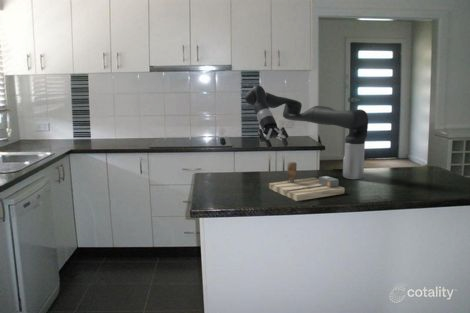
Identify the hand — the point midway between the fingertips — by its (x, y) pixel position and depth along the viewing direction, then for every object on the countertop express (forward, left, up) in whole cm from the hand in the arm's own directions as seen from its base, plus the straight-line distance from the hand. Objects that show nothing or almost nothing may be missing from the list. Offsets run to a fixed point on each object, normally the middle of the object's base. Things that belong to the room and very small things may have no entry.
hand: (278, 146), depth 198 cm
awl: (+11, 0, -17) cm, 20 cm away
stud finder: (+23, +11, -14) cm, 30 cm away
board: (+19, +2, -17) cm, 26 cm away
